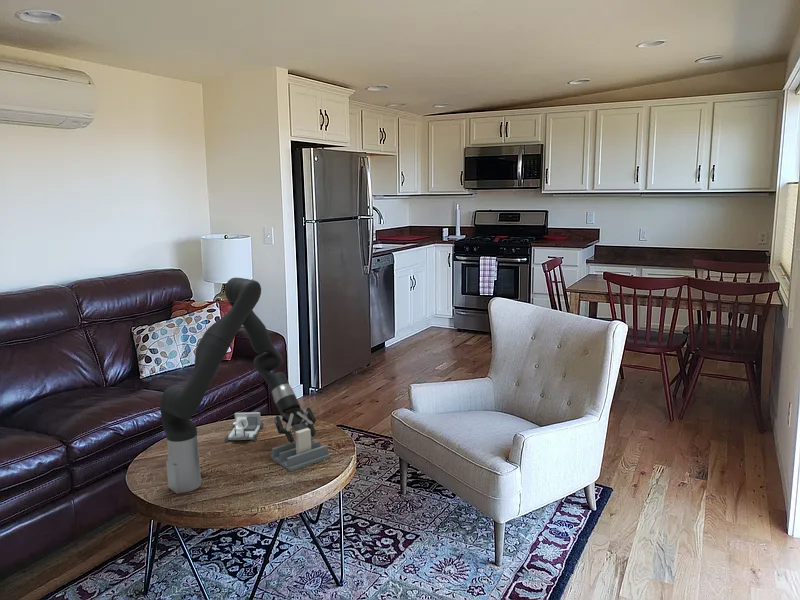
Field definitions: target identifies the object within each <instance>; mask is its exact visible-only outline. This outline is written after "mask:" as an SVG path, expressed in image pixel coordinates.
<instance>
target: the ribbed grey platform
mask: <svg viewBox="0 0 800 600" xmlns="http://www.w3.org/2000/svg"><path fill="white" fill-rule="evenodd" d="M327 458H329V459H331V454H330V453H329V445H327V444H325V445H321V441H320V440H316V441H313V437H312V436H311V450H309V451H306V452H303V453H300V454H297V455H296V440H294V442H293V443H290V442H288V443H285V444H281V445H278V446H275V447H272V448H271V455H270V459H271V460H272V461H274V462H275V463H277V464H278V465H280V466H281V467H283V468H284V469H286V470H287V471H289V472H294V471H297V470H300V469H302V467H303V468H305V466H306V467H308V465H309V466H311V465H310V464H312V465H314V464H313V463H315V464H317V463H320V462H323V461H325V460H324V459H326V460H328V459H327ZM322 460H323V461H322ZM319 461H320V462H319ZM316 462H317V463H316Z"/></svg>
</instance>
